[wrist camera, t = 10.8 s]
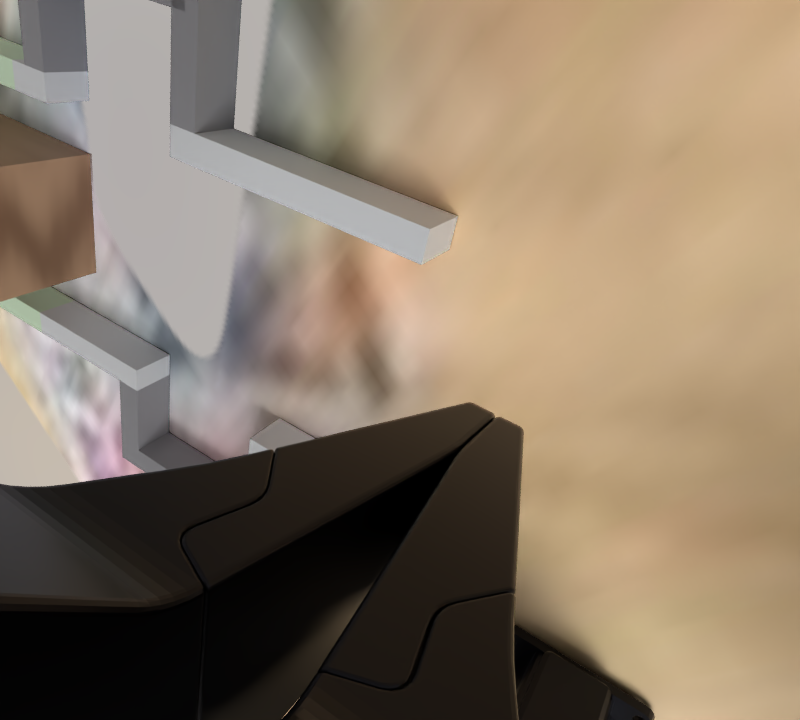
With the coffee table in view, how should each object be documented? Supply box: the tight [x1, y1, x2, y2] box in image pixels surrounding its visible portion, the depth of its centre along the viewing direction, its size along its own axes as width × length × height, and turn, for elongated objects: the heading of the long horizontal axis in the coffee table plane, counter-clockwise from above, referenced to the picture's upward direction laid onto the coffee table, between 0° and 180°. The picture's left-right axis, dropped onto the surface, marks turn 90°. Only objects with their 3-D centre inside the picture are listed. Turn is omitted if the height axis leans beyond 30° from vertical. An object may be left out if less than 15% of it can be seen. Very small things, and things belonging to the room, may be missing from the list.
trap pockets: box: [18, 0, 242, 473], centre depth 28 cm, size 23×14×2 cm, turn 166°
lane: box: [12, 60, 458, 454], centre depth 27 cm, size 13×20×2 cm, turn 76°
